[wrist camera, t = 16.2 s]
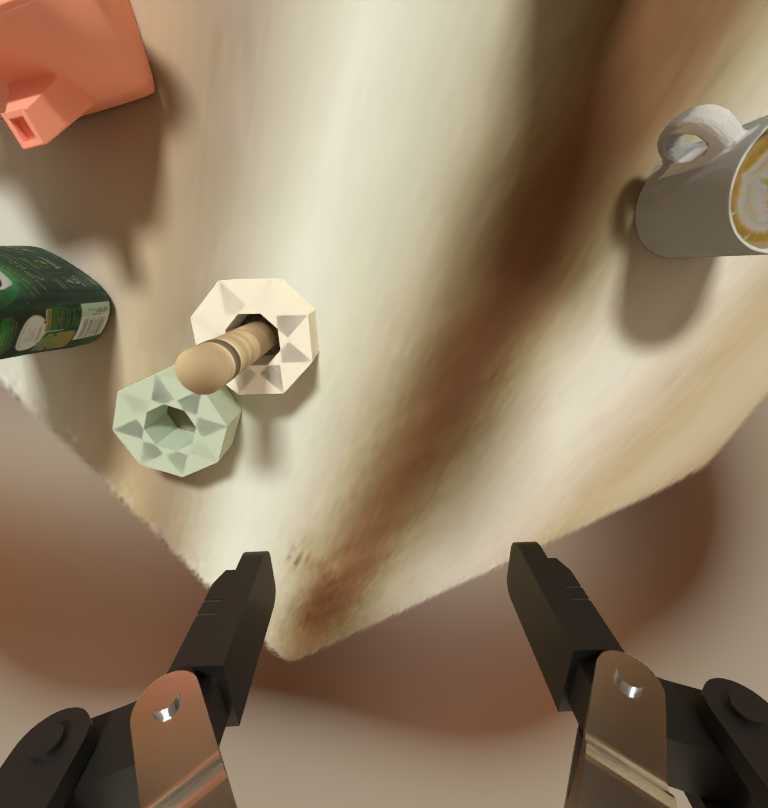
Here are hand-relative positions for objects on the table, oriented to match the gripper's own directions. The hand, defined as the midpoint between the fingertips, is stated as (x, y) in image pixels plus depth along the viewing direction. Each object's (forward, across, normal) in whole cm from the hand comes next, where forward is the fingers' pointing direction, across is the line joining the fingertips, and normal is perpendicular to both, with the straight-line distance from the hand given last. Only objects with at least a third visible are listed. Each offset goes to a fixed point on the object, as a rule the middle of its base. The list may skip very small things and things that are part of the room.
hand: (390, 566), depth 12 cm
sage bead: (+30, +22, +6) cm, 38 cm away
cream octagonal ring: (+30, +12, -3) cm, 33 cm away
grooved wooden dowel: (+30, +12, -3) cm, 33 cm away
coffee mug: (+30, -30, -16) cm, 46 cm away
